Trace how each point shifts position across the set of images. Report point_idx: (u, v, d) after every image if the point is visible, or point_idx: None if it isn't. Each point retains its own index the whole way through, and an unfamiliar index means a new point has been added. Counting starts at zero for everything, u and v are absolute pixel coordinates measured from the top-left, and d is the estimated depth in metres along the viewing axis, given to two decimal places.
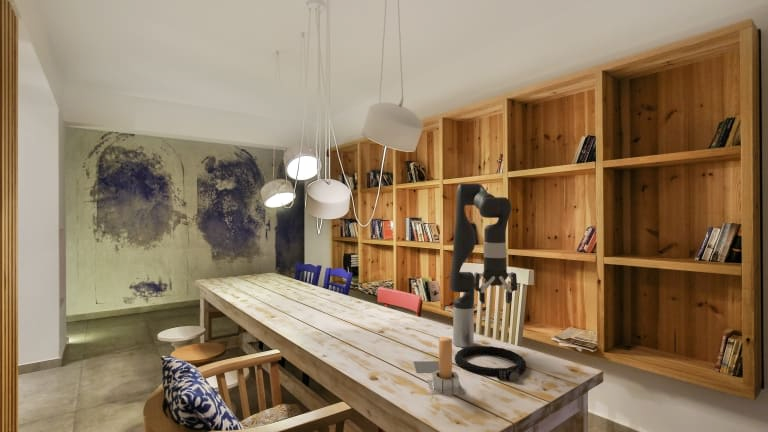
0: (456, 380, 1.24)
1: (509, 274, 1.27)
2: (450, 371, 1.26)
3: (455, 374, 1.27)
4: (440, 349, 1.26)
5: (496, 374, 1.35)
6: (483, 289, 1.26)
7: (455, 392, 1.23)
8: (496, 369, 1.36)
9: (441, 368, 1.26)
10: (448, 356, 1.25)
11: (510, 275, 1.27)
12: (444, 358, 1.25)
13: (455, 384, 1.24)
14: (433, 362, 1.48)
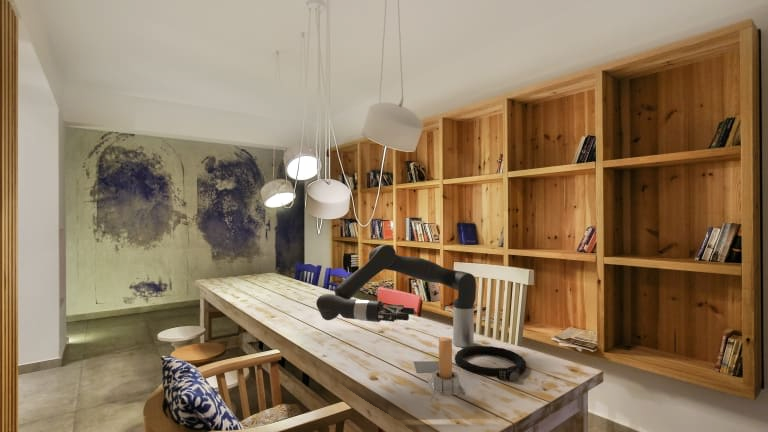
0: (456, 380, 1.24)
1: None
2: (450, 371, 1.26)
3: (455, 374, 1.27)
4: (440, 349, 1.26)
5: (496, 374, 1.35)
6: None
7: (455, 392, 1.23)
8: (496, 369, 1.36)
9: (441, 368, 1.26)
10: (448, 356, 1.25)
11: None
12: (444, 358, 1.25)
13: (455, 384, 1.24)
14: (433, 362, 1.48)
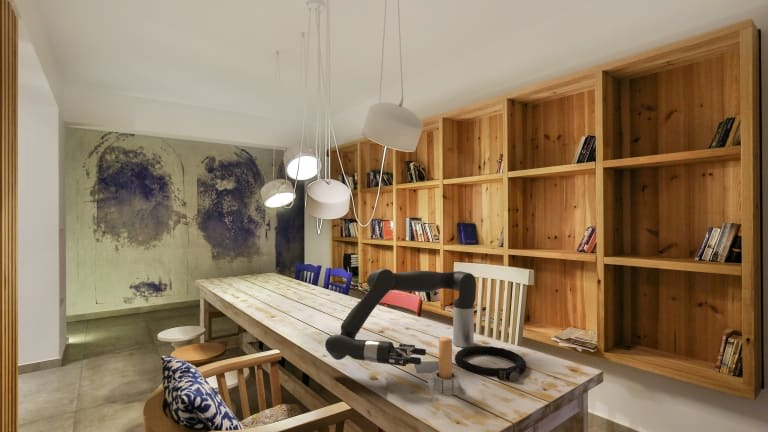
0: (456, 380, 1.24)
1: None
2: (450, 371, 1.26)
3: (455, 374, 1.27)
4: (440, 349, 1.26)
5: (496, 374, 1.35)
6: None
7: (455, 392, 1.23)
8: (496, 369, 1.36)
9: (441, 368, 1.26)
10: (448, 356, 1.25)
11: None
12: (444, 358, 1.25)
13: (455, 384, 1.24)
14: (433, 362, 1.48)
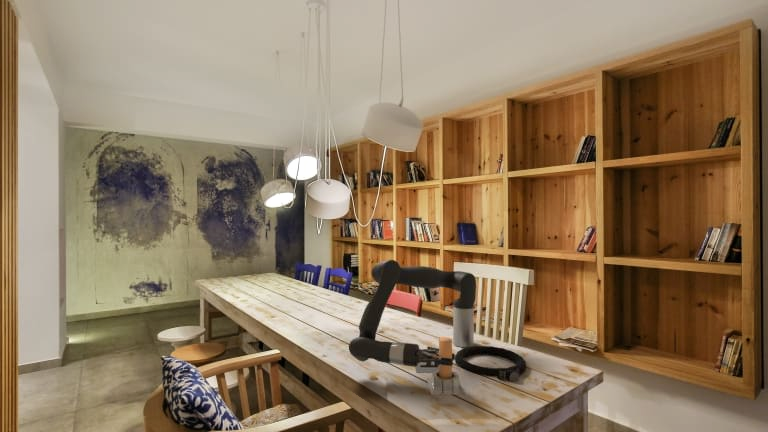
0: (456, 380, 1.24)
1: None
2: (450, 371, 1.26)
3: (455, 374, 1.27)
4: (440, 349, 1.26)
5: (496, 374, 1.35)
6: None
7: (455, 392, 1.23)
8: (496, 369, 1.36)
9: (441, 368, 1.26)
10: (449, 356, 1.25)
11: None
12: None
13: (455, 384, 1.24)
14: None
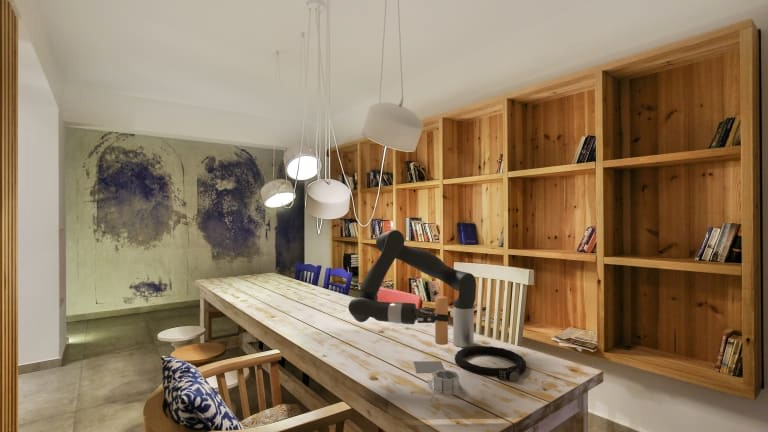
0: (456, 380, 1.24)
1: None
2: (446, 327, 1.31)
3: (455, 374, 1.27)
4: (437, 306, 1.31)
5: (496, 374, 1.35)
6: None
7: (455, 392, 1.23)
8: (496, 369, 1.36)
9: (437, 324, 1.31)
10: (444, 313, 1.31)
11: None
12: None
13: (455, 384, 1.24)
14: (433, 362, 1.48)
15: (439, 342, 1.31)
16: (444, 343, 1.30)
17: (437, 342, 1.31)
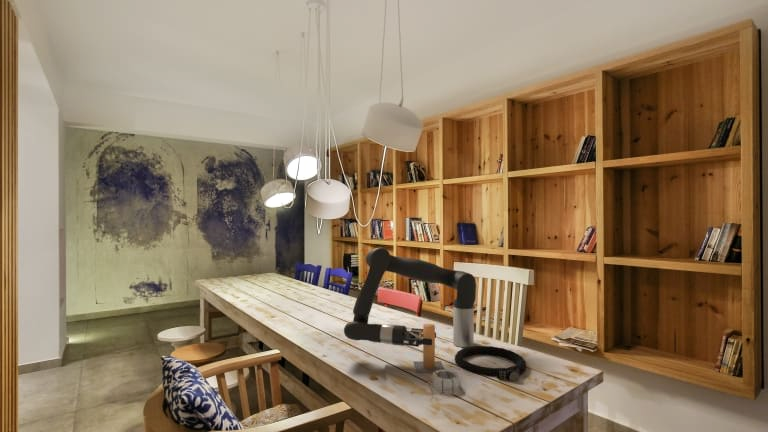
0: (456, 380, 1.24)
1: None
2: (433, 353, 1.42)
3: (455, 374, 1.27)
4: (424, 333, 1.43)
5: (496, 374, 1.35)
6: None
7: (455, 392, 1.23)
8: (496, 369, 1.36)
9: (425, 350, 1.43)
10: (432, 339, 1.42)
11: None
12: None
13: (455, 384, 1.24)
14: None
15: (426, 366, 1.42)
16: (431, 367, 1.42)
17: (425, 366, 1.43)
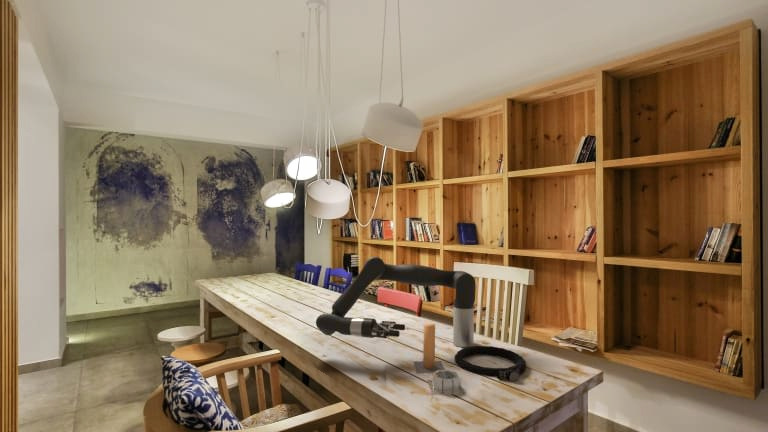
0: (456, 380, 1.24)
1: None
2: (433, 352, 1.43)
3: (455, 374, 1.27)
4: (425, 333, 1.43)
5: (496, 374, 1.35)
6: None
7: (455, 392, 1.23)
8: (496, 369, 1.36)
9: (425, 350, 1.43)
10: (432, 339, 1.42)
11: None
12: (428, 341, 1.42)
13: (455, 384, 1.24)
14: None
15: (426, 366, 1.42)
16: (431, 367, 1.42)
17: (425, 366, 1.43)
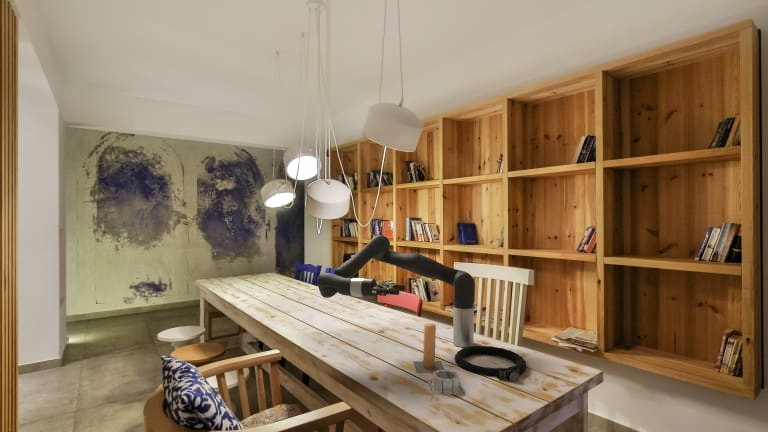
0: (456, 380, 1.24)
1: None
2: (433, 353, 1.43)
3: (455, 374, 1.27)
4: (425, 333, 1.43)
5: (496, 374, 1.35)
6: None
7: (455, 392, 1.23)
8: (496, 369, 1.36)
9: (425, 350, 1.43)
10: (432, 339, 1.42)
11: None
12: (428, 341, 1.42)
13: (455, 384, 1.24)
14: None
15: (426, 366, 1.42)
16: (431, 367, 1.42)
17: (425, 366, 1.43)
